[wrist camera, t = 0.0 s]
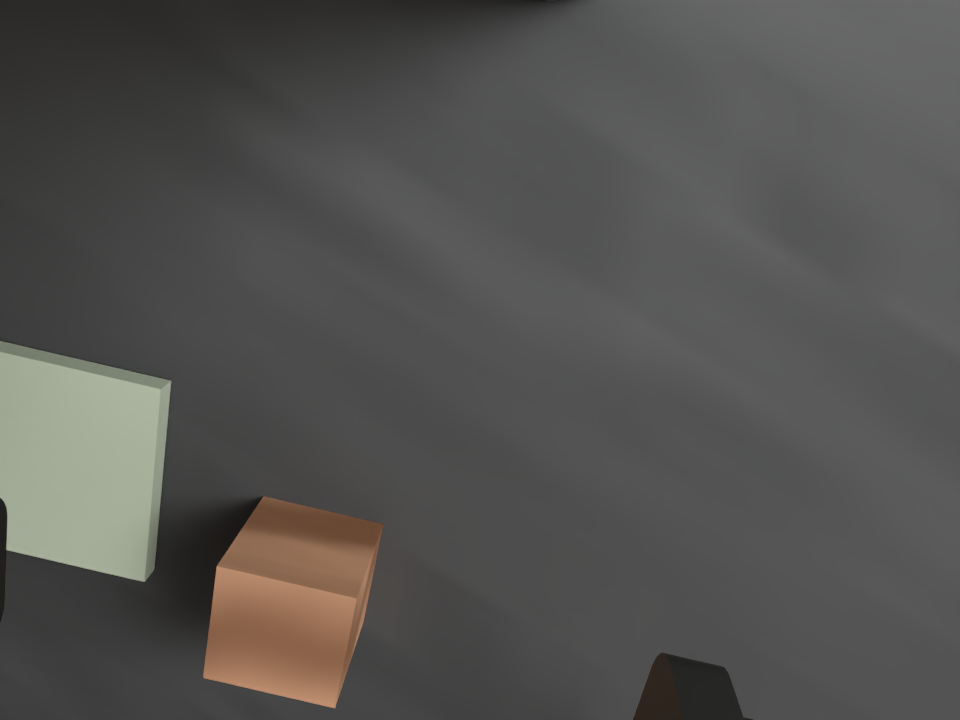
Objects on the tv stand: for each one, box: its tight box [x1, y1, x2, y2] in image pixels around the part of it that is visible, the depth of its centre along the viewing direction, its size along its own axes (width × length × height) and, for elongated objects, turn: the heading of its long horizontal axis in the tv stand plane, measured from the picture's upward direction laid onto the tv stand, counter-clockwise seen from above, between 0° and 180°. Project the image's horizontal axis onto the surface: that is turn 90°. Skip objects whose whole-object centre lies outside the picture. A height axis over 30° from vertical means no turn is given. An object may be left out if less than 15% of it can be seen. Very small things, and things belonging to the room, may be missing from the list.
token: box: [203, 496, 383, 708], centre depth 28 cm, size 4×4×4 cm
